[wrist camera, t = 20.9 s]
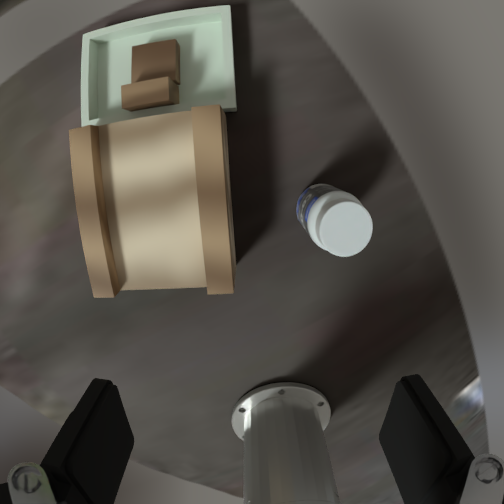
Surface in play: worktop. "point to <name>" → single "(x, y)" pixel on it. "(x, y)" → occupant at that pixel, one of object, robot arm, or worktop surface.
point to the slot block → (156, 202)
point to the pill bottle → (334, 219)
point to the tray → (191, 63)
